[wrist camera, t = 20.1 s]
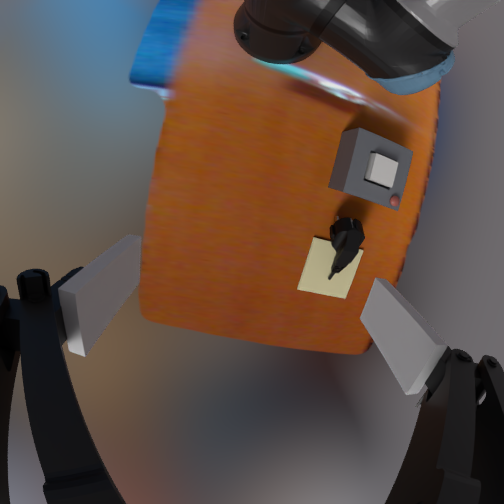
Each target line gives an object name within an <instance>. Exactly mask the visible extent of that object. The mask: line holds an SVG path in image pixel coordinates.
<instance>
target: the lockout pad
mask: <svg viewBox="0 0 504 504" xmlns="http://www.w3.org/2000/svg"><path fill="white" fill-rule="evenodd" d="M362 253H363V250H361V249H359V252H358V254H357V255H356V257H355V258H354V259H353V261H352V262H351V263H349V264H348V265H347V267H345V268H344V269H343V270H342V271H341V272H340V273H335V274H334V276H333V277H332V278H331V280H329V279H328V277H329V275H330V274H331V267H332V264H333V261H334V258H335V255H336V251H335V249H334V248H333V247H332V245H331V241H327V240H323V239H319V238H316V237H313V240H312V244H311V247H310V250H309V253H308V256H307V260H306V263H305V266H304V269H303V272H302V275H301V278H300V281H299V284H298V287H297V289H298V290H303V291H308V292H314V293H319V294H324V295H329V296H334V297H339V298H346V296H347V293H348V291H349V288H350V286H351V283H352V280H353V278H354V275H355V272H356V270H357V267H358V264H359V262H360V259H361V256H362Z"/></svg>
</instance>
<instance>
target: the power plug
mask: <svg viewBox="0 0 504 504" xmlns="http://www.w3.org/2000/svg"><path fill="white" fill-rule="evenodd" d="M330 238H331V245H332V247H333V248H334V249H335V251H336V255H335V258H334V261H333V264H332V267H331V274H330V275H329V277H328V279H329V280H331V278H332V277H333V276H334V274H335V273H340V272H341V271H342V270H343V269H344V268H345V267H347V265H348V264H349V263H351V262H352V261H353V259H354V258H355V257H356V255H357V254H358V252H359V249H358V248H359V246H360V245H361V243H362V242H363V240H364V239H365V236H364V232H363V228H362V224H361V222H360V221H359V220H357V219H354V220H352V218H342V219H340V218H339V216H338V215H336V216H335V223H334V225H331V227H330Z"/></svg>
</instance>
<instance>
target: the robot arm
mask: <svg viewBox="0 0 504 504" xmlns="http://www.w3.org/2000/svg"><path fill="white" fill-rule="evenodd" d="M499 1H501V0H244V3H243V4H242V5H241V6H240V8H239V9H238V11H237V12H236V15H235V18H234V34H235V37H236V40H237V42H238V43H239V45H240V46H241V47H242V48H243V49H244V50H245V51H246V52H247V53H248V54H250V55H251V56H253V57H255V58H257V59H259V60H261V61H264V62H268V63H273V64H291V63H296V62H299V61H302V60H304V59H306V58H307V57H309V56H310V55H312V54H313V53H314V52H315V50H316V49H317V47H318V46H319V44H320V43H321V41H323V42H324V43H326V44H327V45H329V46H330V47H332V48H333V49H335V50H336V51H337V52H339V53H340V54H342V55H343V56H344V57H346V58H347V59H348V60H350V61H351V62H352V63H354V64H355V65H356V66H358V67H359V68H360V69H361V70H363V71H364V72H365V74H366V75H367V76H368V77H369V78H370V79H373V80H375V81H376V82H378V83H379V84H380V85H381V86H383V87H384V88H385V89H386V90H387V91H389V92H391V93H394V94H398V95H409V94H413V93H417V92H419V91H422V90H424V89H426V88H428V87H430V86H432V85H433V84H435V83H436V82H438V81H439V80H440V79H441V76H442V75H445V74H447V73H448V72H449V71H450V70H451V68H452V67H453V65H454V62H455V56H454V53H453V49H454V48H456V47H457V46H458V44H459V43H458V30H459V28H460V27H461V26H463V25H464V24H466V23H467V22H469V21H470V20H471V19H473V18H475V17H476V16H477V15H479V14H481V13H482V12H484V11H485V10H486V9H488V8H490V7H491V6H493V5H495V4H496V3H498V2H499ZM140 252H141V236H135V235H130V234H128V235H127V236H125V237H124V238H123V239H121V240H120V241H118V242H117V243H116V244H114V245H113V246H112V247H110V248H109V249H108V250H106V251H105V252H104V253H102V254H101V255H100V256H98V257H97V258H96V259H94V260H93V261H92V262H91V263H89V264H88V265H87V266H85V267H79V268H76V269H73V270H71V271H70V272H69V273H68V274H66V276H64V277H62V278H61V280H59V281H57V282H56V283H55V284H53V285H52V286H50V278H49V274H48V272H47V271H45V270H42V269H30V270H26V271H24V272H21V273H20V274H19V275H18V276H17V285H18V290H19V295H20V299H11V298H9V297H8V293H7V289H6V288H5V287H4V286H1V285H0V504H10V498H9V486H8V463H7V461H8V459H7V458H8V456H7V455H8V431H9V419H10V410H11V402H12V395H13V388H14V383H15V377H16V372H17V367H18V363H19V358H20V354H21V366H22V376H23V385H24V393H25V400H26V406H27V411H28V416H29V422H30V426H31V430H32V435H33V439H34V443H35V447H36V450H37V454H38V457H39V461H40V464H41V467H42V470H43V473H44V476H45V481H46V482H45V483H44V485H43V492H44V495H45V498H46V501H47V503H48V504H126V503H125V501H124V499H123V497H122V496H121V494H120V493H119V491H118V489H117V488H116V486H115V484H114V482H113V480H112V478H111V476H110V475H109V473H108V471H107V469H106V467H105V465H104V463H103V461H102V459H101V457H100V455H99V453H98V451H97V448H96V446H95V444H94V442H93V439H92V437H91V435H90V432H89V430H88V428H87V425H86V423H85V420H84V417H83V415H82V412H81V409H80V406H79V404H78V401H77V398H76V395H75V392H74V389H73V385H72V382H71V379H70V375H69V372H68V368H67V364H66V361H65V356H64V353H63V348H62V345H63V343H64V342H65V341H66V340H67V343H68V347H69V351H71V352H73V353H76V354H79V355H82V356H84V357H86V355H87V354H88V352H89V351H90V349H91V348H92V347H93V345H94V344H95V342H96V341H97V339H98V338H99V337H100V335H101V334H102V332H103V331H104V330H105V328H106V327H107V325H108V324H109V322H110V321H111V320H112V319H113V317H114V316H115V314H116V313H117V312H118V310H119V309H120V308H121V306H122V305H123V304H124V302H125V301H126V300H127V298H128V297H129V296H130V295H131V293H132V292H133V291H134V289H135V288H136V287H137V285H138V284H139V277H140ZM360 319H361V321H362V322H363V324H364V326H365V327H366V329H367V330H368V332H369V334H370V335H371V337H372V338H373V340H374V342H375V343H376V345H377V347H378V348H379V350H380V352H381V353H382V355H383V357H384V358H385V360H386V362H387V363H388V365H389V367H390V368H391V370H392V372H393V373H394V375H395V377H396V379H397V380H398V382H399V384H400V386H401V387H402V389H403V391H404V393H405V394H406V395H409V394H417V393H419V391H420V390H421V388H422V387H423V385H424V384H426V386H427V387H428V389H427V391H426V392H425V393H424V395H423V396H422V398H421V399H420V400H419V402H418V403H417V405H416V407H418V406H419V405H420V404H421V408H420V412H419V415H418V419H417V422H416V426H415V429H414V432H413V435H412V439H411V442H410V444H409V447H408V450H407V453H406V456H405V458H404V461H403V463H402V466H401V469H400V471H399V473H398V476H397V478H396V481H395V483H394V485H393V487H392V490H391V492H390V494H389V496H388V498H387V500H386V503H385V504H504V372H503V369H502V367H501V365H500V364H499V362H498V361H497V360H496V359H495V358H494V357H492V356H488V355H484V356H483V357H482V359H481V361H480V362H479V364H478V363H473V360H472V357H471V356H469V354H467V353H466V352H465V351H463V350H460V349H453V350H451V349H450V347H449V346H448V345H447V343H446V342H445V341H444V340H443V339H442V338H441V336H440V335H439V334H438V333H437V332H436V331H435V330H434V329H433V328H432V326H431V325H430V324H429V323H428V322H427V321H426V320H425V319H424V318H423V317H422V316H421V315H420V314H419V313H418V312H417V311H416V309H415V308H414V307H413V306H412V305H411V304H410V303H409V302H408V301H407V300H406V299H405V298H404V297H403V296H402V295H401V294H400V293H399V292H398V291H397V290H396V289H395V288H394V287H393V286H392V285H391V284H390V283H389V282H388V281H387V280H386V279H381V278H375V280H374V283H373V286H372V289H371V291H370V294H369V297H368V299H367V302H366V304H365V307H364V309H363V312H362V314H361V317H360ZM485 392H486V397H485V399H484V401H483V402H482V404H480V405H479V400H480V399H481V397H482V396H483V395H484V393H485Z"/></svg>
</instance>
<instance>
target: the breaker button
mask: <svg viewBox="0 0 504 504" xmlns="http://www.w3.org/2000/svg"><path fill="white" fill-rule="evenodd" d="M397 167H398V162H396V161H394V160H391V159H389V158H387V157H385V156H382V155H380V154H377V153H370V156H369V160H368V164H367V168H366V172H365V175H364V179H365V180H368V181H371V182H373V183H376V184H379V185H382V186H386V187H391V188H392V186H393V182H394V179H395V175H396V171H397Z"/></svg>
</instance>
